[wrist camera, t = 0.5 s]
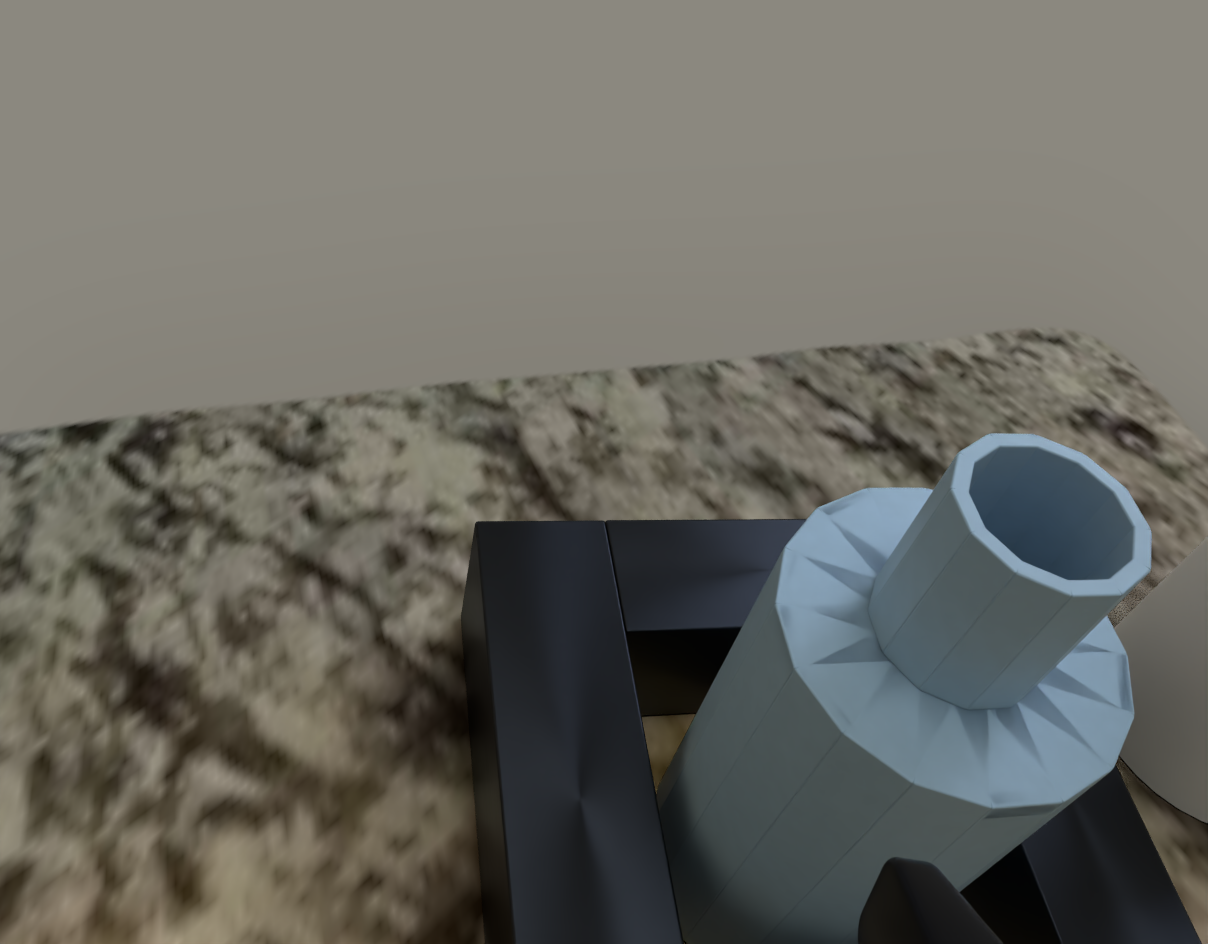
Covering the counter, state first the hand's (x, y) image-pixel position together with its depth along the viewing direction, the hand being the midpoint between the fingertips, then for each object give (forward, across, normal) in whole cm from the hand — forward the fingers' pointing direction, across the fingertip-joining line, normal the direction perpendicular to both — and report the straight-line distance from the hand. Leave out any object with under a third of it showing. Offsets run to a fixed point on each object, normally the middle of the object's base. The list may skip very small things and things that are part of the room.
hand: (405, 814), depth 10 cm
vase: (+12, -9, +13) cm, 20 cm away
